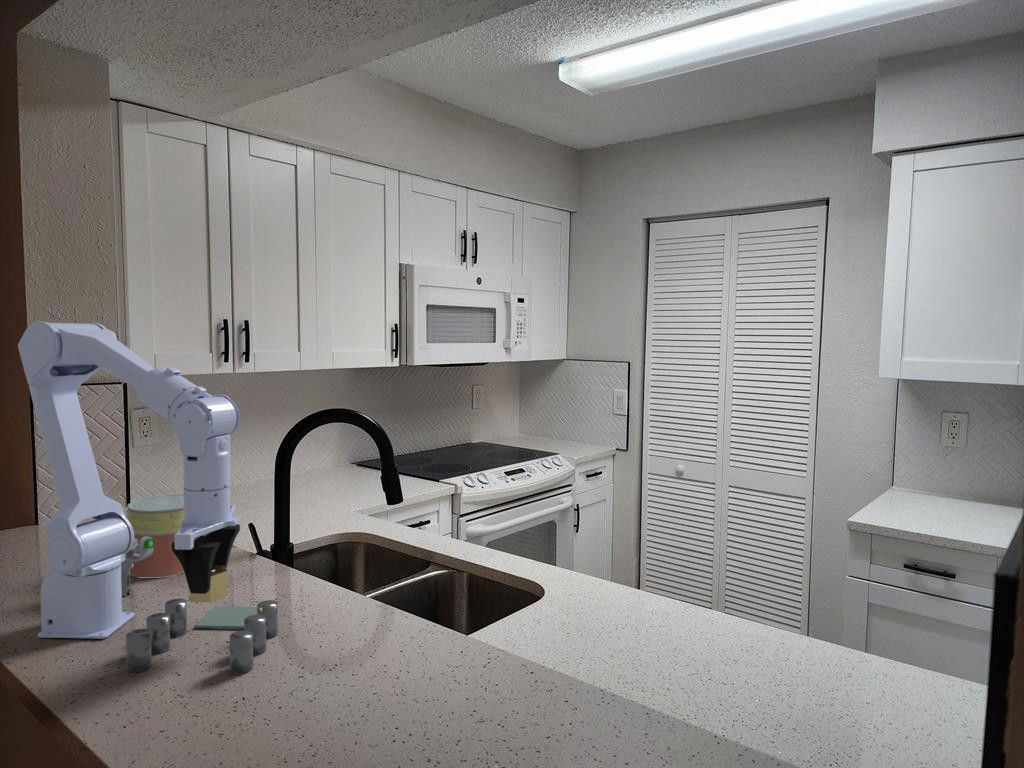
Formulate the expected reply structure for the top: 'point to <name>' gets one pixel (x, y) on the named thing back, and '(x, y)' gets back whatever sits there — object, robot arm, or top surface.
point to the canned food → (157, 533)
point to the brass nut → (213, 586)
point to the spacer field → (176, 624)
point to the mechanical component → (135, 559)
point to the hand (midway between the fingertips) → (207, 585)
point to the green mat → (226, 617)
